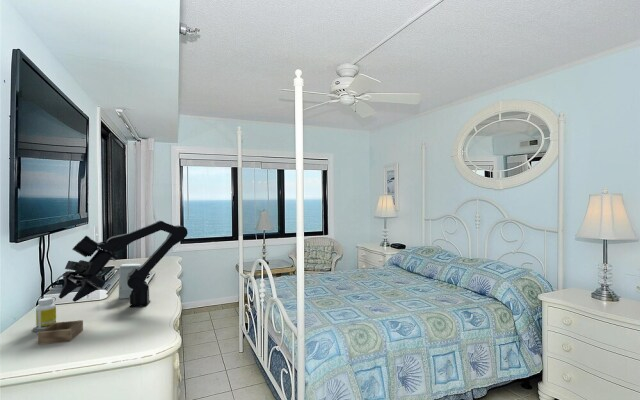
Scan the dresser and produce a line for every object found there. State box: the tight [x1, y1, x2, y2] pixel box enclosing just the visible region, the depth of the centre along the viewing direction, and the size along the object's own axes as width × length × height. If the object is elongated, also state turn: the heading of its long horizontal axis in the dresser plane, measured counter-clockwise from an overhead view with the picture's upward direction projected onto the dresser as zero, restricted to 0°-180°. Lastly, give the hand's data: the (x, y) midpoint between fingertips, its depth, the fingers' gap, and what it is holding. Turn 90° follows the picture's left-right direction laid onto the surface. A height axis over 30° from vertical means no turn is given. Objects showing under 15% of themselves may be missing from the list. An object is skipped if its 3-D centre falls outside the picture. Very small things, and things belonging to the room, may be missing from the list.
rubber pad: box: [32, 326, 43, 333], centre depth 117 cm, size 7×7×1 cm
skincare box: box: [118, 263, 143, 300], centre depth 153 cm, size 8×6×15 cm
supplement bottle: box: [35, 297, 57, 329], centre depth 117 cm, size 5×5×10 cm
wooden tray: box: [37, 319, 84, 345], centre depth 109 cm, size 9×9×4 cm
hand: (66, 299), depth 122 cm, fingers open, 9 cm apart
